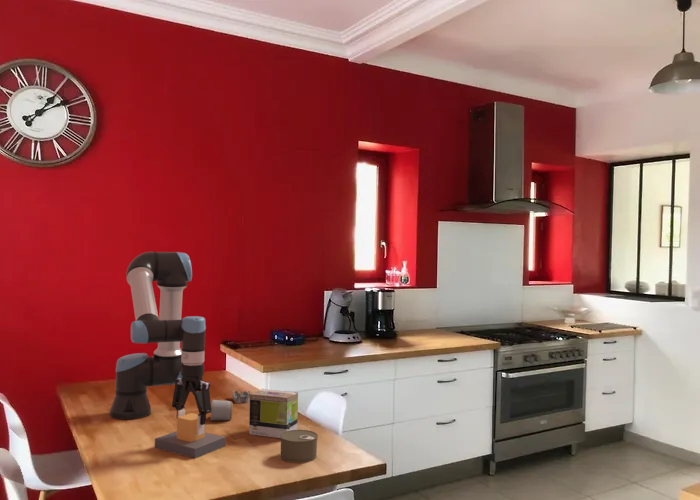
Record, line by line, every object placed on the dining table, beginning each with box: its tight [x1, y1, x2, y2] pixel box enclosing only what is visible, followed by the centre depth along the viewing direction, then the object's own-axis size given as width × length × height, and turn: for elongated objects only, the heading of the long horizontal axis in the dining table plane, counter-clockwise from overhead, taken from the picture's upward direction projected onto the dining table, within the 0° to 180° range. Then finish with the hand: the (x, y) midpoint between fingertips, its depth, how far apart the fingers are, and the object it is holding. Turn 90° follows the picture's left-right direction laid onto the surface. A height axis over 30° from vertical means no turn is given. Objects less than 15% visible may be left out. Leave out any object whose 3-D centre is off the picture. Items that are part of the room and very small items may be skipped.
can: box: [279, 429, 319, 464], centre depth 184 cm, size 12×12×7 cm
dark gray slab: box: [154, 430, 227, 459], centre depth 191 cm, size 18×14×3 cm
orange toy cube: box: [176, 412, 206, 442], centre depth 191 cm, size 6×6×7 cm
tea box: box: [248, 388, 299, 439], centre depth 207 cm, size 15×10×15 cm, turn 71°
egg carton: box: [232, 389, 252, 404], centre depth 253 cm, size 11×8×4 cm
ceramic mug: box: [210, 399, 233, 422], centre depth 224 cm, size 11×8×8 cm
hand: (190, 431), depth 191 cm, fingers open, 8 cm apart
